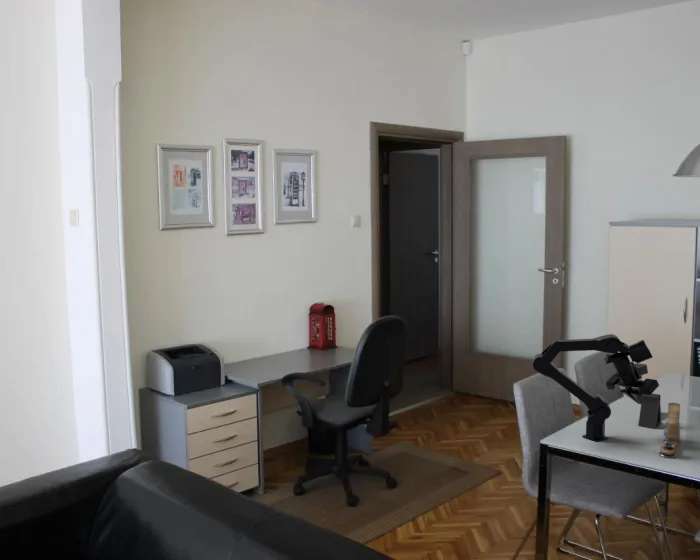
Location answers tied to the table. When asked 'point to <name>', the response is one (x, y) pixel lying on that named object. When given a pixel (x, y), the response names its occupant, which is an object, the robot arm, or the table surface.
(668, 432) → the swing link
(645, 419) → the phone stand
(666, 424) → the bracket
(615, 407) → the table surface
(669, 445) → the pin stand
